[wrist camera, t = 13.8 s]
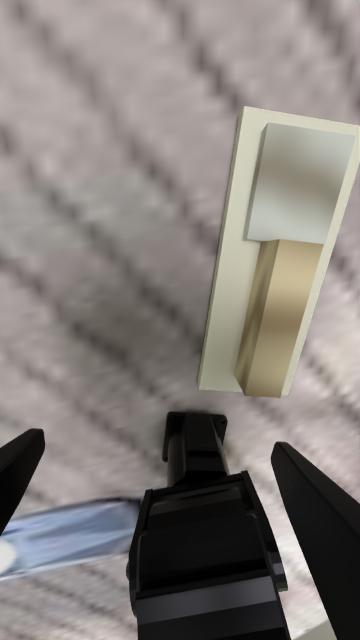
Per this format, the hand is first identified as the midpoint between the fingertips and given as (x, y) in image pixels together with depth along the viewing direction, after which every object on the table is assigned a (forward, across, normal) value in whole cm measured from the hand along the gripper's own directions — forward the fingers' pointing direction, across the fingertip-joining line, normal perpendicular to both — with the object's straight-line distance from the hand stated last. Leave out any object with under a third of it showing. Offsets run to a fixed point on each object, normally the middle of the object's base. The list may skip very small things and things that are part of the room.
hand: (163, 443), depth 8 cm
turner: (+11, -8, -6) cm, 15 cm away
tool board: (+12, -8, -6) cm, 16 cm away
